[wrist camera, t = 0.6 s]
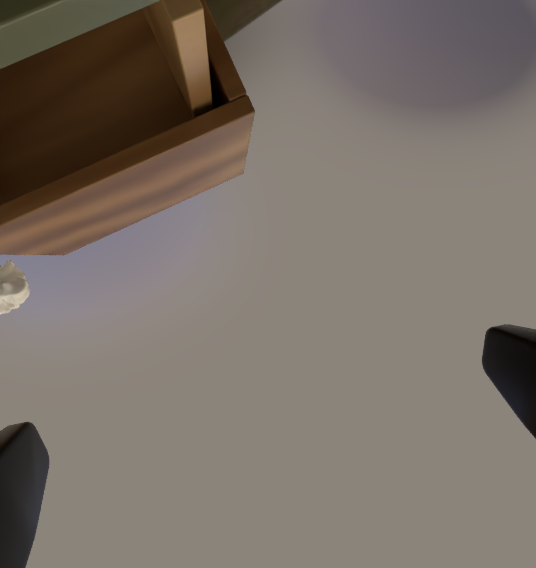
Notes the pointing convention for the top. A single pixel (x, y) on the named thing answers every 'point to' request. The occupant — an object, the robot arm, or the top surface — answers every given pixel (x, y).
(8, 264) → the white lumpy figure
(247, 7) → the top surface
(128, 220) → the cabinet
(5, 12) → the drawer
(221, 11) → the top surface
